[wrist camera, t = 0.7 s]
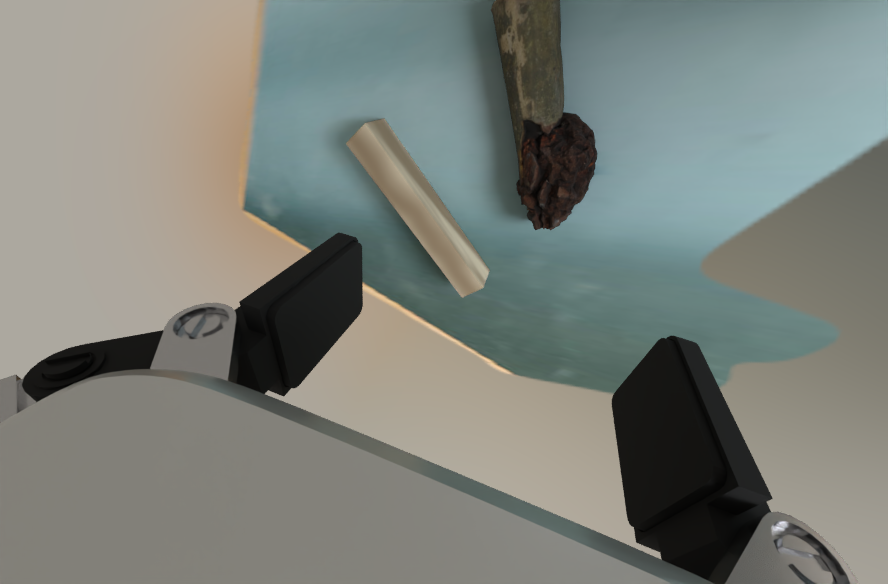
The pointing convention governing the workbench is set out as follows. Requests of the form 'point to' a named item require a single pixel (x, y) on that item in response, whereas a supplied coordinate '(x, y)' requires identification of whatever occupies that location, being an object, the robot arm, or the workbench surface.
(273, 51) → the workbench surface
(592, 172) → the brown long lumpy piece
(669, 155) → the workbench surface
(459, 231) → the bar
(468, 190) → the workbench surface
